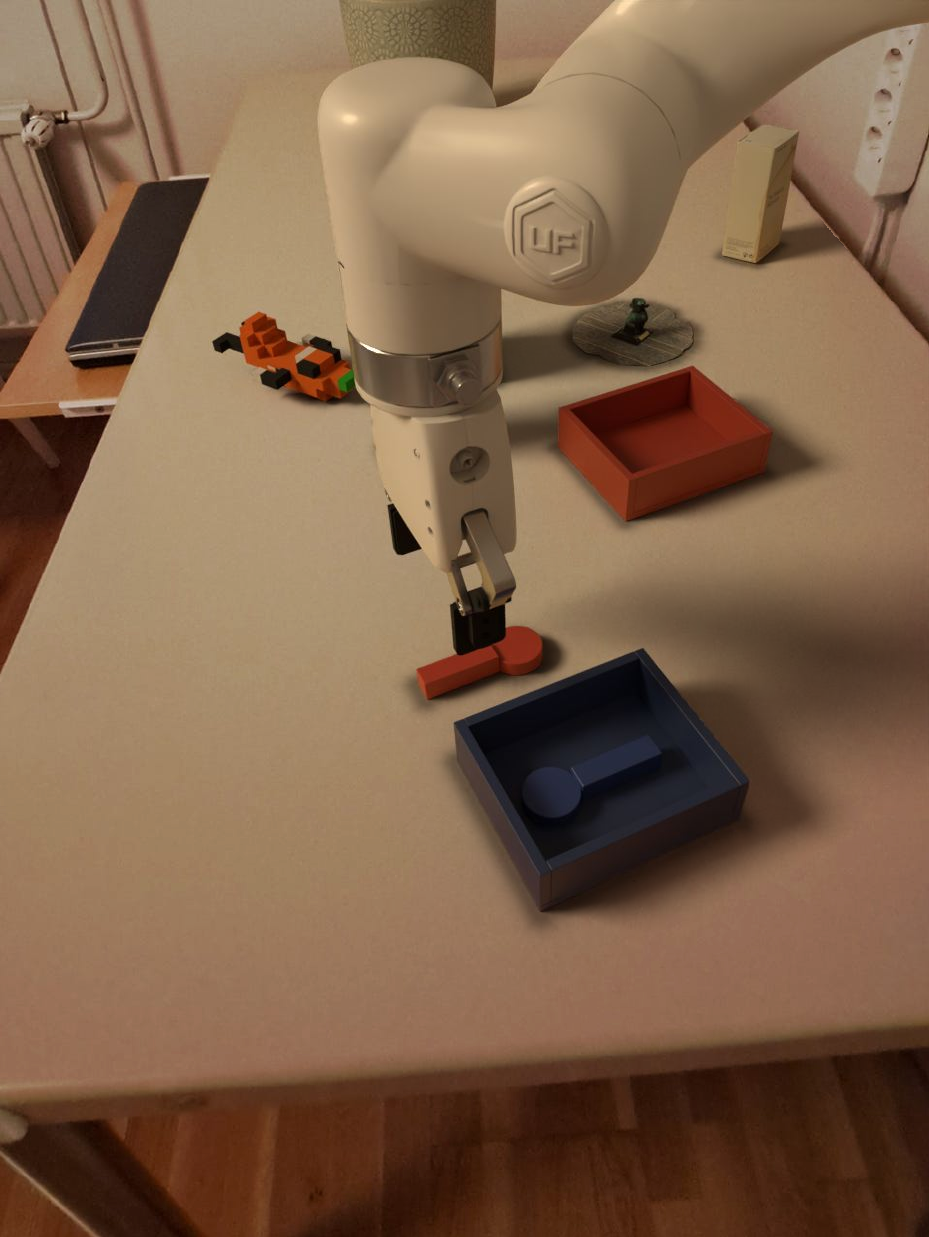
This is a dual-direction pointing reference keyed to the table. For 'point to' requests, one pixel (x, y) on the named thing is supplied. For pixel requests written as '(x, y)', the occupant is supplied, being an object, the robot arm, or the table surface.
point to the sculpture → (632, 333)
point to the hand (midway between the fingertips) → (447, 593)
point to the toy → (290, 359)
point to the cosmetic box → (759, 192)
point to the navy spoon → (584, 781)
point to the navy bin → (620, 817)
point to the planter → (422, 31)
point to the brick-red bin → (662, 441)
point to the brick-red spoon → (483, 662)
